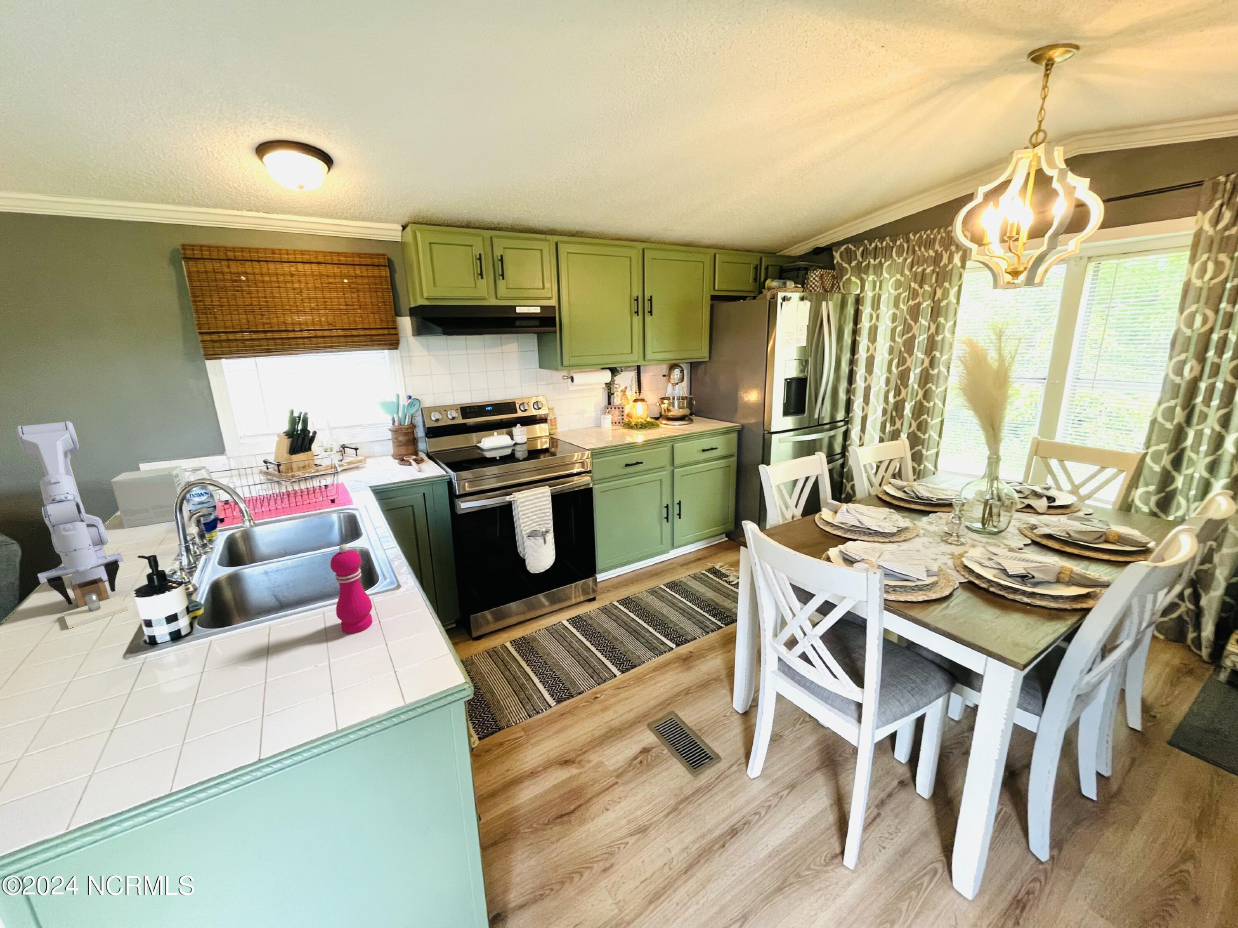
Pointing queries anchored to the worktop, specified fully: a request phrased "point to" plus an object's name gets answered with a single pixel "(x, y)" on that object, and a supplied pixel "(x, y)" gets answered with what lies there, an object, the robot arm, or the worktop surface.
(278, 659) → the worktop surface
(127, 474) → the supplement box
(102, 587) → the walnut collar
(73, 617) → the base plate
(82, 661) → the worktop surface
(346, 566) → the pepper mill
